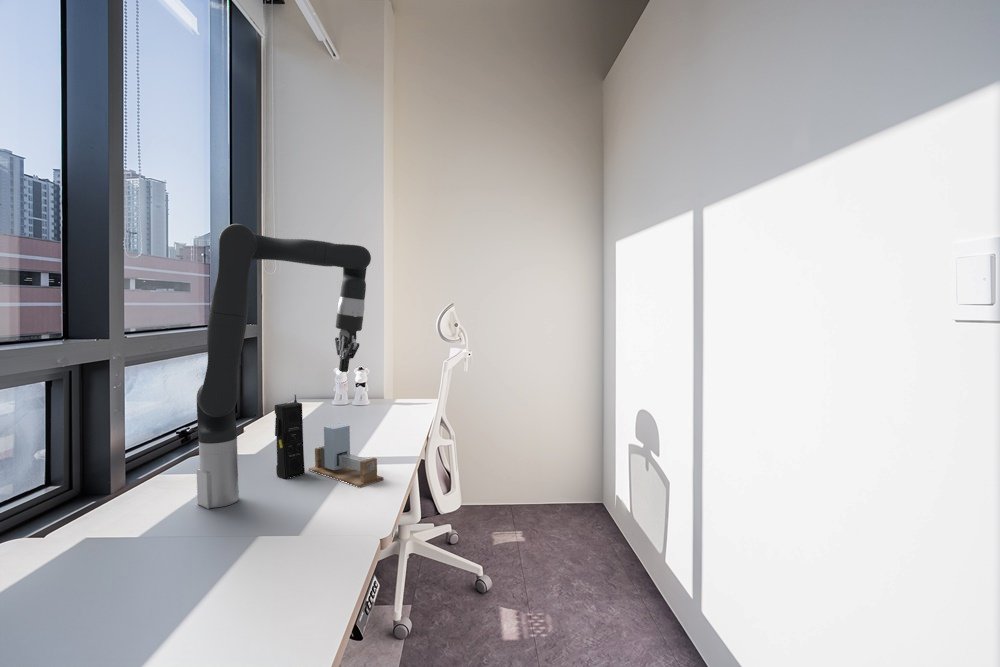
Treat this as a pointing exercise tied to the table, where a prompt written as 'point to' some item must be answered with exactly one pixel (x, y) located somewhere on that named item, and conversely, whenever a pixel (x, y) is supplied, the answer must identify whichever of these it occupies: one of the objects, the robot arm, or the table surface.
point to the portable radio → (289, 439)
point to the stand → (349, 472)
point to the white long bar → (351, 461)
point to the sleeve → (335, 444)
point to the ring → (322, 457)
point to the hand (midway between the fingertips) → (343, 371)
